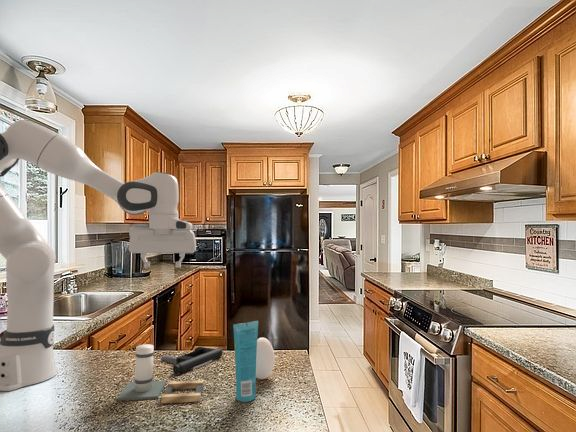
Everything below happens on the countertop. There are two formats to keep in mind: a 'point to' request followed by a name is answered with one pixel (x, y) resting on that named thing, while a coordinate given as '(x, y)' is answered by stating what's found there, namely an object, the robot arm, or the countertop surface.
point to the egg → (264, 358)
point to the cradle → (185, 397)
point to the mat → (131, 394)
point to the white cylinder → (144, 368)
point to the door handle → (193, 359)
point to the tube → (245, 359)
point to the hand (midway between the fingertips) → (162, 267)
